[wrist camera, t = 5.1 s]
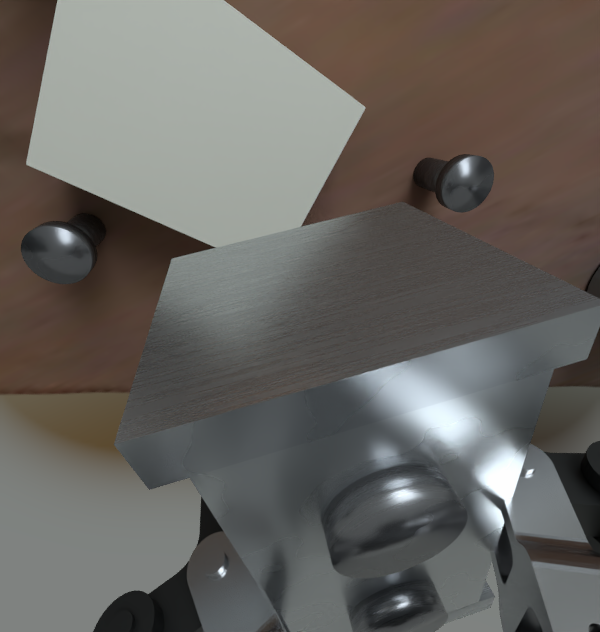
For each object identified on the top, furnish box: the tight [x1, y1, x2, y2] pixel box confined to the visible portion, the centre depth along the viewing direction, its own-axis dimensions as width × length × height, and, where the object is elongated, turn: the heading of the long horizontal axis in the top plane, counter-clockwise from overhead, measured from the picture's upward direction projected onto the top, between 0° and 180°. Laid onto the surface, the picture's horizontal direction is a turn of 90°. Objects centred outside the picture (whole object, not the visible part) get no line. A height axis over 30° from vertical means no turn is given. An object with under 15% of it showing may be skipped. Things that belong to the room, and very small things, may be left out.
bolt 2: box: [414, 154, 494, 212], centre depth 22 cm, size 3×3×5 cm
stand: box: [26, 0, 366, 248], centre depth 18 cm, size 13×10×5 cm
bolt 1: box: [21, 213, 106, 284], centre depth 20 cm, size 3×3×5 cm
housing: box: [114, 202, 600, 632], centre depth 10 cm, size 7×12×7 cm, turn 11°
